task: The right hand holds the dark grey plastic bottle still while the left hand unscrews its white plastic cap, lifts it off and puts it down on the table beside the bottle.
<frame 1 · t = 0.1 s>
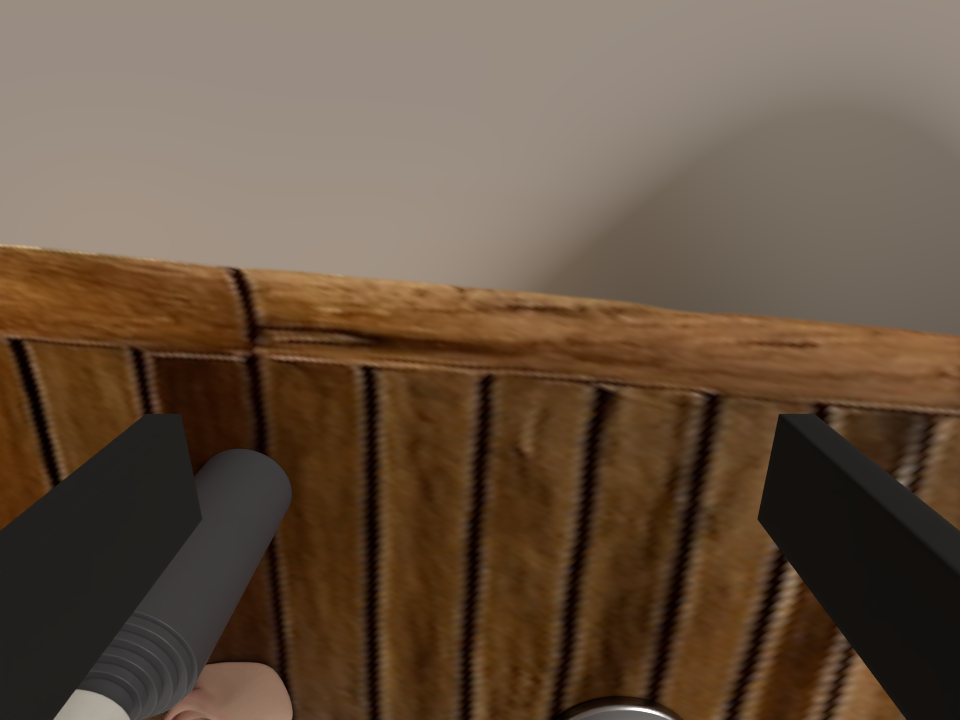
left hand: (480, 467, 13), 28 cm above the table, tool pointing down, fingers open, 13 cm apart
bottle: (245, 488, 46), on the table
anatomical model: (231, 706, 54), on the table
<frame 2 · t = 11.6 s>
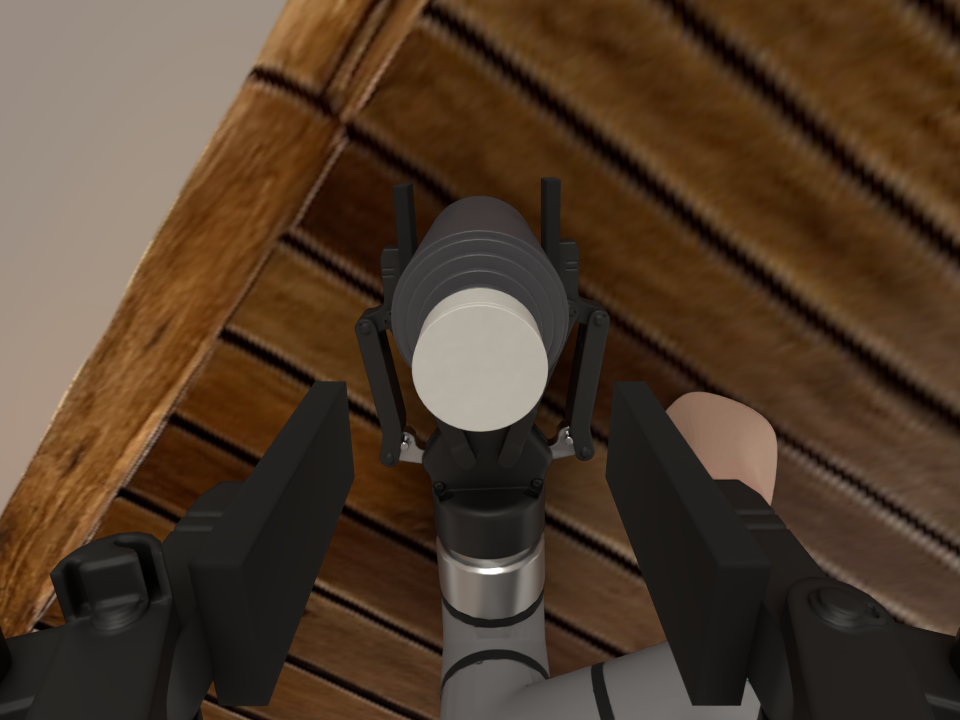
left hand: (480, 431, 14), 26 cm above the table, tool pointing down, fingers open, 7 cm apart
right hand: (476, 182, 31), fingers closed on bottle, 7 cm apart
bottle: (480, 251, 39), on the table, touching right hand
anatomical model: (705, 469, 45), on the table
cap: (480, 367, 19), point 22 cm above the table, screwed on, not yet turned
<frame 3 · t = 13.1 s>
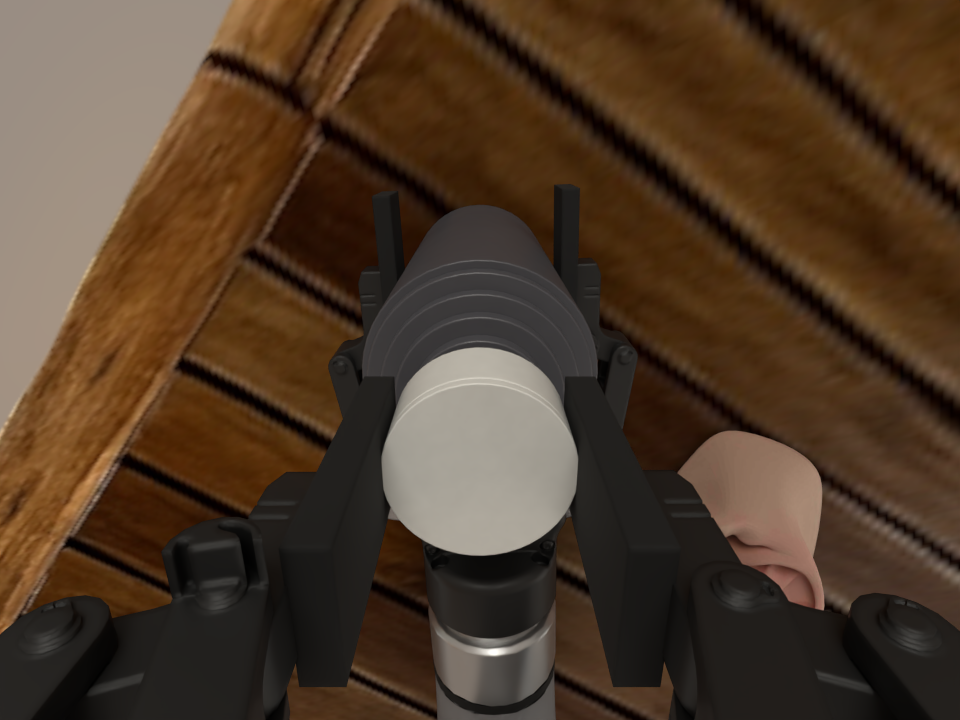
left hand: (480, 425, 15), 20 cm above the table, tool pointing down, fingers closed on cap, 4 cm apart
bottle: (480, 270, 33), on the table, touching right hand
anatomical model: (739, 516, 39), on the table
cap: (479, 467, 13), point 22 cm above the table, screwed on, not yet turned, touching left hand
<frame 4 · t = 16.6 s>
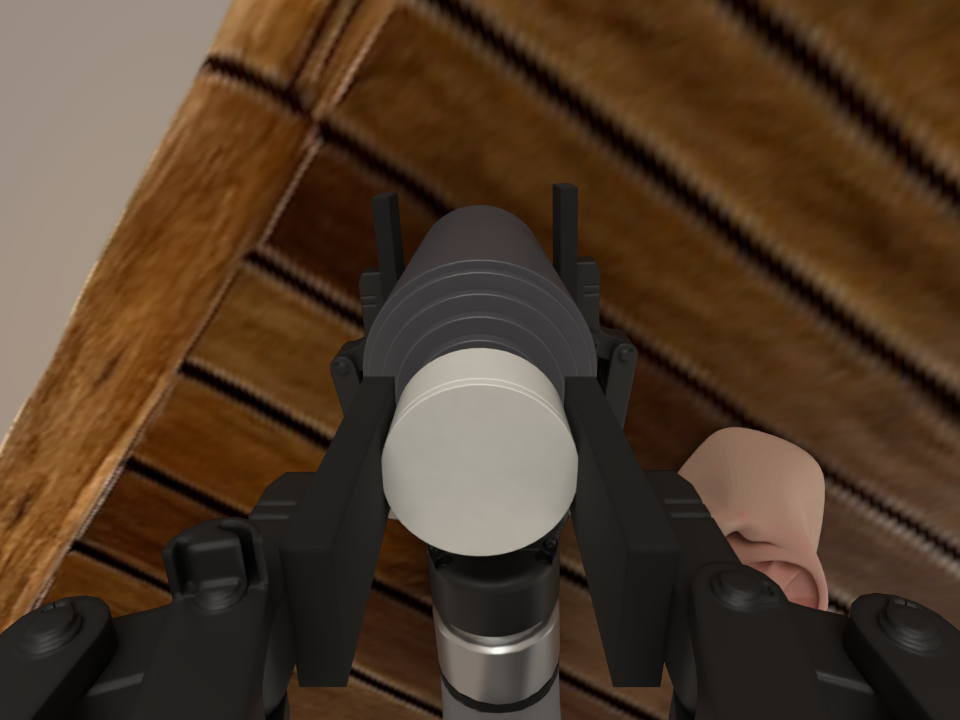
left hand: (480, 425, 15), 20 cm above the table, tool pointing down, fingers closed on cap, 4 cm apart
bottle: (479, 269, 33), on the table, touching right hand
anatomical model: (742, 513, 39), on the table
cap: (479, 468, 13), point 22 cm above the table, turned 130° so far, risen 0.1 cm, still on its thread, touching left hand
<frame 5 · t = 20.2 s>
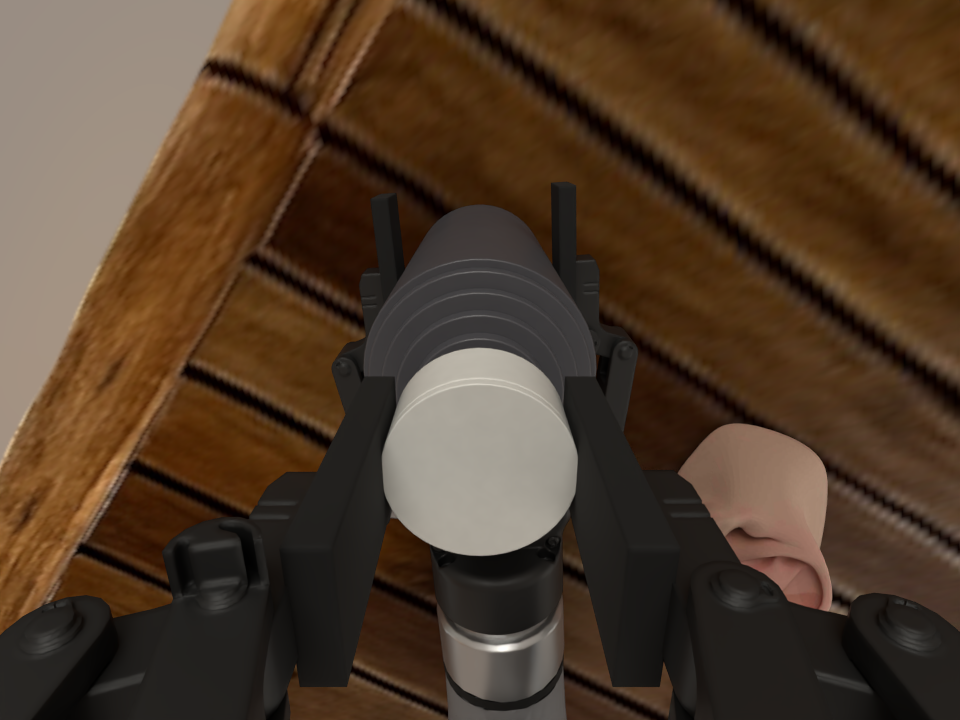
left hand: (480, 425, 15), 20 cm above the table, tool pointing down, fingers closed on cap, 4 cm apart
bottle: (480, 269, 33), on the table, touching right hand
anatomical model: (744, 509, 39), on the table
cap: (479, 468, 13), point 22 cm above the table, turned 260° so far, risen 0.2 cm, still on its thread, touching left hand
when the left hand's fingers open (2 cm above the table, at t = 30.7 s): cap drops 2 cm, point 2 cm above the table.
when the right hand's fingers open (6 cm above the table, at t = 32.0 s): bottle stays where it is, on the table.
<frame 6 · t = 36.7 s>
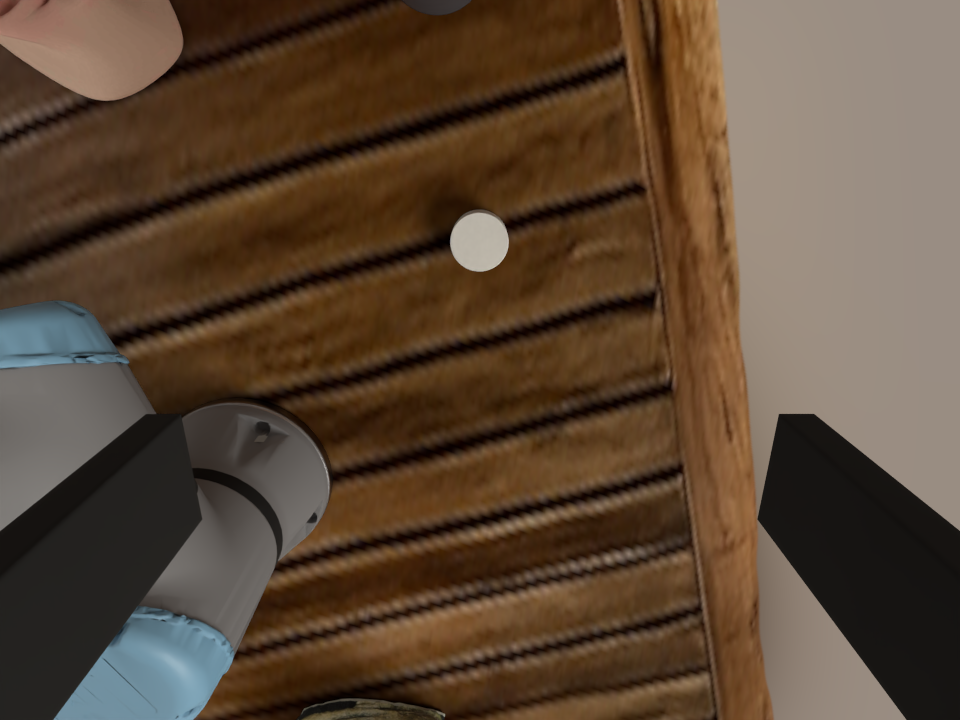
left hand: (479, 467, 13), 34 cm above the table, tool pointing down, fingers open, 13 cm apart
anatomical model: (81, 8, 39), on the table
cap: (479, 241, 43), point 2 cm above the table, off its thread
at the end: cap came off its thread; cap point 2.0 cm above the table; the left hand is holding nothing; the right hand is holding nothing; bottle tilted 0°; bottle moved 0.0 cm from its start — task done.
